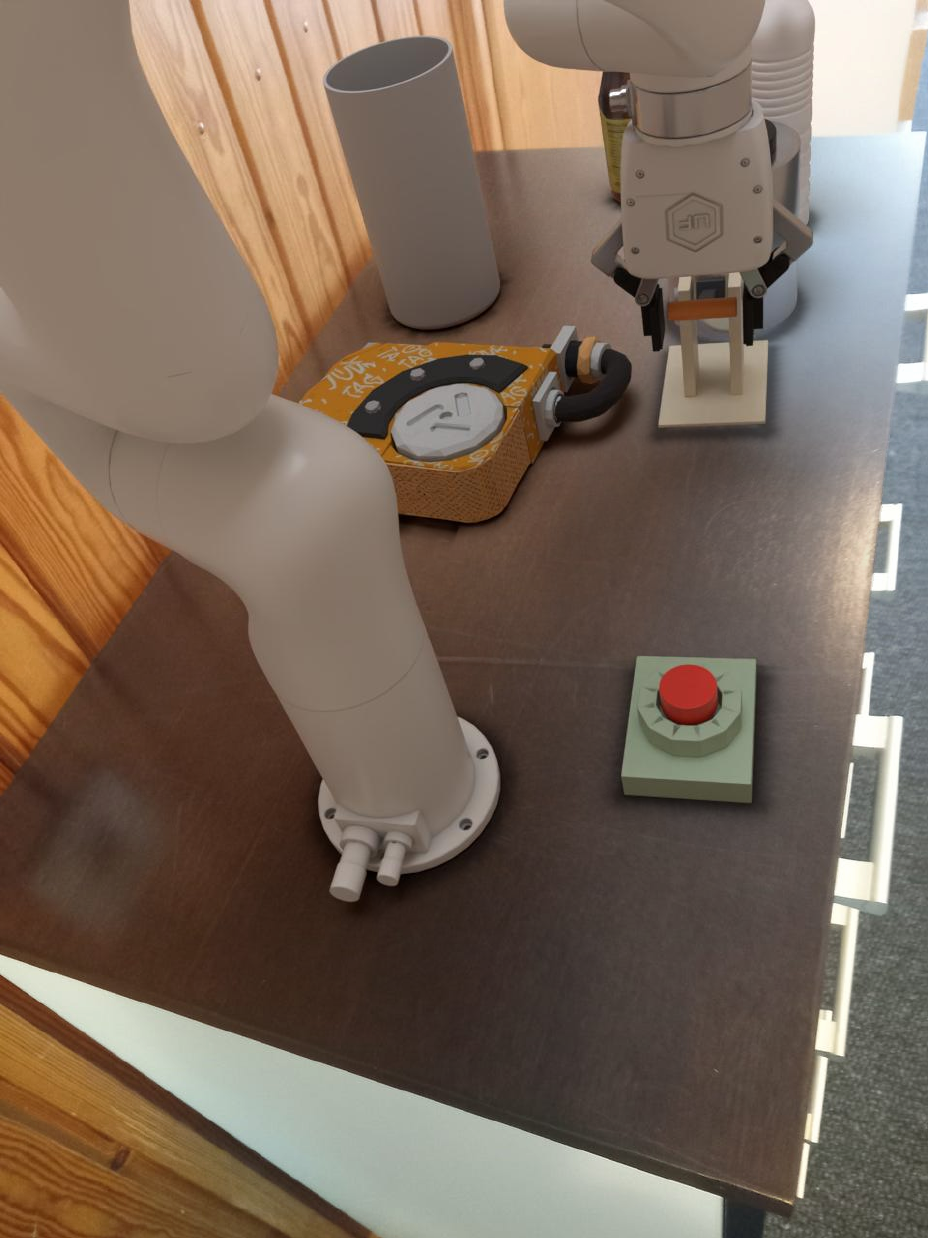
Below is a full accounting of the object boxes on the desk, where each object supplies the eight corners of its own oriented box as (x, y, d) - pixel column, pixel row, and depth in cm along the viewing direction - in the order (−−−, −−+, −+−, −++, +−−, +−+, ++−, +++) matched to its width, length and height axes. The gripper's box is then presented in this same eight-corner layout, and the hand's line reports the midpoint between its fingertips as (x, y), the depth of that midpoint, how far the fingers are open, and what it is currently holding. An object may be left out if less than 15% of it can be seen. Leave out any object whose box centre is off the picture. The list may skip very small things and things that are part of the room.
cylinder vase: (472, 336, 108) (414, 90, 90) (371, 328, 113) (298, 94, 96) (519, 272, 115) (474, 31, 97) (422, 268, 120) (362, 39, 102)
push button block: (751, 803, 65) (751, 767, 62) (624, 795, 67) (618, 760, 64) (756, 679, 71) (755, 641, 68) (639, 675, 73) (634, 638, 71)
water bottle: (744, 214, 113) (740, -43, 95) (806, 205, 112) (814, -57, 94) (747, 254, 108) (744, -10, 90) (813, 246, 106) (823, -25, 88)
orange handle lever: (736, 324, 76) (736, 291, 76) (667, 329, 78) (666, 296, 77) (742, 303, 87) (742, 274, 86) (682, 308, 89) (681, 279, 88)
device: (349, 297, 102) (640, 308, 90) (372, 367, 108) (648, 387, 96) (230, 441, 90) (550, 477, 77) (263, 511, 96) (566, 556, 83)
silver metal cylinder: (796, 342, 96) (801, 160, 83) (665, 350, 99) (651, 176, 87) (797, 263, 105) (801, 87, 92) (676, 272, 108) (665, 104, 96)
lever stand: (765, 432, 88) (765, 310, 80) (659, 435, 91) (648, 318, 82) (768, 350, 96) (768, 231, 87) (670, 356, 98) (661, 241, 90)
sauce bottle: (637, 177, 124) (620, -4, 110) (676, 188, 120) (664, 2, 106) (598, 201, 122) (576, 20, 108) (636, 214, 118) (619, 27, 104)
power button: (716, 726, 65) (715, 709, 64) (658, 724, 66) (656, 707, 65) (719, 681, 67) (718, 664, 66) (663, 679, 68) (661, 663, 67)
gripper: (551, 140, 67) (585, 373, 79) (835, 105, 61) (823, 361, 74) (567, 91, 71) (598, 318, 84) (833, 55, 66) (821, 303, 79)
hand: (703, 336), depth 79 cm, fingers open, 6 cm apart
